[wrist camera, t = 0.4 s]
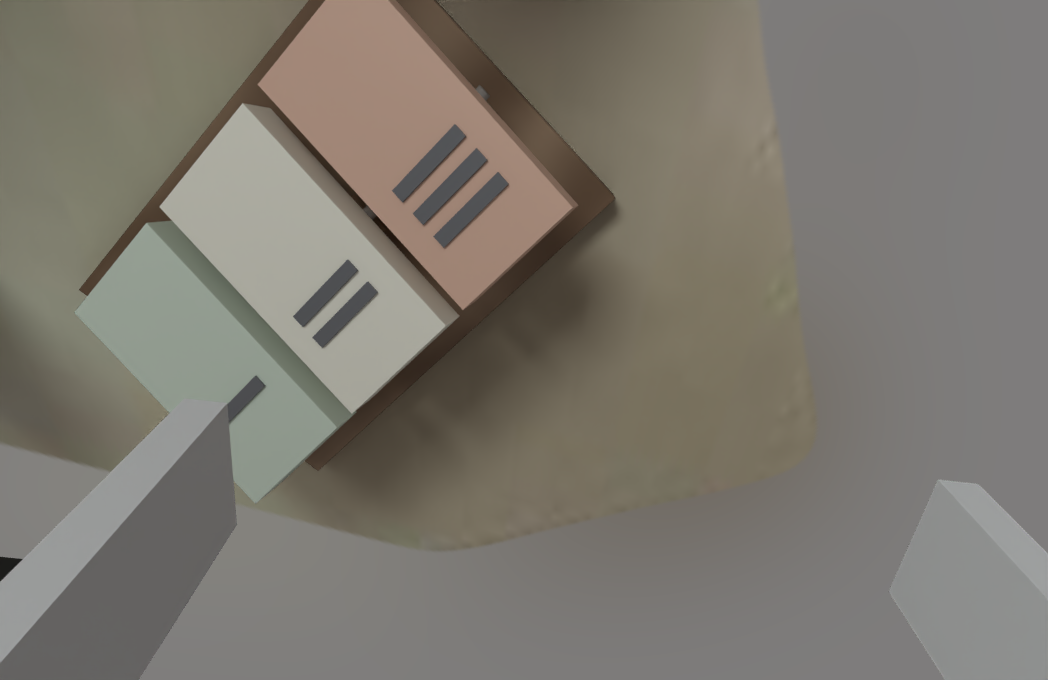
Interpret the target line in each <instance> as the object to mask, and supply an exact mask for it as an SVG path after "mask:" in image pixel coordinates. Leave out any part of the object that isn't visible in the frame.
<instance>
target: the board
mask: <svg viewBox="0 0 1048 680" xmlns="http://www.w3.org/2000/svg"><path fill="white" fill-rule="evenodd" d="M324 1H325V0H309V1H308V2H307V4H306V5H305V6H304V7H303V9H302V10H301V11H300V12H299V14H298V15H297V16H296V17H295V19H294V20H293V21H292V22H291V24H290V25H289V26H288V27H287V29H286V30H285V31H284V32H283V34H282V35H281V36H280V38H279V39H278V40H277V41H276V43H275V44H274V45H273V46H272V48H271V49H270V50H269V51H268V53H267V54H266V55H265V56H264V58H263V59H262V60H261V61H260V63H259V64H258V65H257V66H256V68H255V69H254V70H253V71H252V73H251V74H250V75H249V77H248V78H247V79H246V80H245V82H244V83H243V84H242V85H241V87H240V88H239V89H238V90H237V92H236V93H235V94H234V95H233V97H232V98H231V99H230V100H229V102H228V103H227V104H226V105H225V107H224V108H223V109H222V110H221V112H220V113H219V114H218V116H217V117H216V118H215V119H214V121H213V122H212V123H211V124H210V126H209V127H208V128H207V129H206V131H205V132H204V133H203V134H202V136H201V137H200V138H199V139H198V141H197V142H196V143H195V144H194V146H193V147H192V148H191V150H190V151H189V152H188V153H187V155H186V156H185V157H184V158H183V160H182V161H181V162H180V163H179V165H178V166H177V167H176V168H175V170H174V171H173V172H172V173H171V175H170V176H169V177H168V178H167V180H166V181H165V182H164V183H163V185H162V186H161V187H160V189H159V190H158V191H157V192H156V194H155V195H154V196H153V197H152V199H151V200H150V201H149V202H148V204H147V205H146V206H145V207H144V209H143V210H142V211H141V212H140V214H139V215H138V216H137V217H136V219H135V220H134V221H133V222H132V224H131V225H130V226H129V228H128V229H127V230H126V231H125V233H124V234H123V235H122V236H121V238H120V239H119V240H118V241H117V243H116V244H115V245H114V246H113V248H112V249H111V250H110V251H109V253H108V254H107V255H106V256H105V258H104V259H103V260H102V262H101V263H100V264H99V265H98V267H97V268H96V269H95V270H94V272H93V273H92V274H91V275H90V277H89V278H88V279H87V280H86V282H85V283H84V284H83V285H82V287H81V288H80V289H79V290H80V291H81V292H83V293H84V294H85V295H87V296H88V295H89V294H90V292H91V291H92V290H93V289H94V287H95V286H96V285H97V284H98V282H99V281H100V280H101V279H102V277H103V276H104V275H105V274H106V272H107V271H108V270H109V269H110V268H111V266H112V265H113V264H114V263H115V261H116V260H117V259H118V258H119V256H120V255H121V254H122V253H123V251H124V250H125V249H126V248H127V246H128V245H129V244H130V243H131V241H132V240H133V239H134V238H135V236H136V235H137V234H138V233H139V231H140V230H141V229H142V228H143V226H144V225H145V224H146V223H151V222H162V221H172V220H171V219H170V218H169V217H168V216H167V215H166V214H165V213H164V211H163V210H162V209H161V208H160V205H161V204H162V203H163V202H164V200H165V199H166V198H167V197H168V195H169V194H170V193H171V192H172V190H173V189H174V188H175V187H176V185H177V184H178V183H179V182H180V180H181V179H182V178H183V177H184V175H185V174H186V173H187V172H188V170H189V169H190V168H191V167H192V166H193V164H194V163H195V162H196V161H197V159H198V158H199V157H200V156H201V154H202V153H203V152H204V151H205V149H206V148H207V147H208V146H209V144H210V143H211V142H212V141H213V139H214V138H215V137H216V136H217V134H218V133H219V132H220V131H221V129H222V128H223V127H224V126H225V124H226V123H227V122H228V121H229V119H230V118H231V117H232V116H233V115H234V113H235V112H236V111H237V110H238V108H239V107H240V106H241V105H242V103H244V104H250V105H256V106H261V107H267V108H271V109H272V111H273V112H274V113H275V114H276V115H277V116H278V117H279V118H280V119H281V120H282V122H283V123H284V124H285V125H286V126H287V127H288V128H289V129H290V130H291V131H292V133H293V134H294V135H295V136H296V137H297V138H298V139H299V140H300V141H301V142H302V144H303V145H304V146H305V147H306V148H307V149H308V150H309V151H310V152H311V153H312V154H313V156H314V157H315V158H316V159H317V160H318V161H319V162H320V163H321V164H322V165H323V167H324V168H325V169H326V170H327V171H328V172H329V173H330V174H331V175H332V176H333V178H334V179H335V180H336V181H337V182H338V183H339V184H340V185H341V186H342V187H343V189H344V190H345V191H346V192H347V193H348V194H349V195H350V196H351V197H352V198H353V199H354V201H355V202H356V203H357V204H358V205H359V206H360V207H361V208H362V209H363V210H364V212H365V213H366V214H367V215H368V216H369V217H370V218H371V219H372V220H373V221H374V223H375V224H376V225H377V226H378V227H379V228H380V229H381V230H382V231H383V232H384V234H385V235H386V236H387V237H388V238H389V239H390V240H391V241H392V242H393V243H394V244H395V246H396V247H397V248H398V249H399V250H400V251H401V252H402V253H403V254H404V255H405V257H406V258H407V259H408V260H409V261H410V262H411V263H412V264H413V265H414V266H415V268H416V269H417V270H418V271H419V272H420V273H421V274H422V275H423V276H424V277H425V279H426V280H427V281H428V282H429V283H430V284H431V285H432V286H433V287H434V288H435V289H436V291H437V292H438V293H439V294H440V295H441V296H442V297H443V298H444V299H445V300H446V302H447V303H448V304H449V305H450V306H451V307H452V308H453V309H454V310H455V311H456V313H457V314H458V315H459V317H458V318H457V319H456V320H455V321H454V322H453V323H452V324H451V325H450V326H449V327H447V328H446V329H445V330H444V331H443V332H442V333H441V334H440V335H439V336H438V337H437V338H436V339H435V340H433V341H432V342H431V343H430V344H429V345H428V346H427V347H426V348H425V349H424V350H423V351H422V352H421V353H420V354H418V355H417V356H416V357H415V358H414V359H413V360H412V361H411V362H410V363H409V364H408V365H407V366H406V367H405V368H403V369H402V370H401V371H400V372H399V373H398V374H397V375H396V376H395V377H394V378H393V379H392V380H391V381H390V382H388V383H387V384H386V385H385V386H384V387H383V388H382V389H381V390H380V391H379V392H378V393H377V394H376V395H375V396H373V397H372V398H371V399H370V400H369V401H368V402H366V403H365V404H364V405H362V406H361V407H360V408H359V409H357V410H356V413H355V414H354V415H353V416H352V417H351V418H350V419H349V420H348V421H347V422H346V423H344V424H343V425H342V426H341V427H340V428H339V429H338V430H337V431H336V432H335V433H334V434H333V435H332V436H331V437H329V438H328V439H327V440H326V441H325V442H324V443H323V444H322V445H321V446H320V447H319V448H318V449H317V450H316V451H314V452H313V453H312V454H311V455H310V456H309V457H308V458H307V459H306V460H305V461H306V462H307V463H308V464H310V465H311V466H312V467H313V468H315V469H316V470H317V471H318V470H319V469H321V468H322V467H323V466H324V465H325V464H326V463H327V462H328V461H329V460H330V459H331V458H333V457H334V456H335V455H336V454H337V453H338V452H339V451H340V450H341V449H342V448H343V447H345V446H346V445H347V444H348V443H349V442H350V441H351V440H352V439H353V438H354V437H355V436H357V435H358V434H359V433H360V432H361V431H362V430H363V429H364V428H365V427H366V426H367V425H369V424H370V423H371V422H372V421H373V420H374V419H375V418H376V417H377V416H378V415H379V414H381V413H382V412H383V411H384V410H385V409H386V408H387V407H388V406H389V405H390V404H391V403H393V402H394V401H395V400H396V399H397V398H398V397H399V396H400V395H401V394H402V393H403V392H405V391H406V390H407V389H408V388H409V387H410V386H411V385H412V384H413V383H414V382H415V381H417V380H418V379H419V378H420V377H421V376H422V375H423V374H424V373H425V372H426V371H427V370H429V369H430V368H431V367H432V366H433V365H434V364H435V363H436V362H437V361H438V360H439V359H441V358H442V357H443V356H444V355H445V354H446V353H447V352H448V351H449V350H450V349H451V348H453V347H454V346H455V345H456V344H457V343H458V342H459V341H460V340H461V339H462V338H463V337H465V336H466V335H467V334H468V333H469V332H470V331H471V330H472V329H473V328H474V327H476V326H477V325H478V324H479V323H480V322H481V321H482V320H483V319H484V318H485V317H486V316H488V315H489V314H490V313H491V312H492V311H493V310H494V309H495V308H496V307H497V306H498V305H500V304H501V303H502V302H503V301H504V300H505V299H506V298H507V297H508V296H509V295H510V294H512V293H513V292H514V291H515V290H516V289H517V288H518V287H519V286H520V285H521V284H522V283H524V282H525V281H526V280H527V279H528V278H529V277H530V276H531V275H532V274H533V273H534V272H536V271H537V270H538V269H539V268H540V267H541V266H542V265H543V264H544V263H545V262H546V261H548V260H549V259H550V258H551V257H552V256H553V255H554V254H555V253H556V252H557V251H558V250H560V249H561V248H562V247H563V246H564V245H565V244H566V243H567V242H568V241H569V240H570V239H572V238H573V237H574V236H575V235H576V234H577V233H578V232H579V231H580V230H581V229H582V228H584V227H585V226H586V225H587V224H588V223H589V222H590V221H591V220H592V219H593V218H594V217H596V216H597V215H598V214H599V213H600V212H601V211H602V210H603V209H604V208H605V207H606V206H608V205H609V204H610V203H611V202H612V201H613V200H614V199H615V197H614V195H613V193H612V192H611V191H610V190H609V189H608V188H607V187H606V186H605V185H604V183H603V182H602V181H601V180H600V179H599V178H598V177H597V176H596V175H595V174H594V173H593V171H592V170H591V169H590V168H589V167H588V166H587V165H586V164H585V163H584V162H583V161H582V159H581V158H580V157H579V156H578V155H577V154H576V153H575V152H574V151H573V150H572V149H571V147H570V146H569V145H568V144H567V143H566V142H565V141H564V140H563V139H562V138H561V137H560V135H559V134H558V133H557V132H556V131H555V130H554V129H553V128H552V127H551V126H550V125H549V123H548V122H547V121H546V120H545V119H544V118H543V117H542V116H541V115H540V114H539V112H538V111H537V110H536V109H535V108H534V107H533V106H532V105H531V104H530V103H529V102H528V100H527V99H526V98H525V97H524V96H523V95H522V94H521V93H520V92H519V91H518V90H517V88H516V87H515V86H514V85H513V84H512V83H511V82H510V81H509V80H508V79H507V78H506V76H505V75H504V74H503V73H502V72H501V71H500V70H499V69H498V68H497V67H496V66H495V64H494V63H493V62H492V61H491V60H490V59H489V58H488V57H487V56H486V55H485V54H484V52H483V51H482V50H481V49H480V48H479V47H478V46H477V45H476V44H475V43H474V41H473V40H472V39H471V38H470V37H469V36H468V35H467V34H466V33H465V32H464V31H463V29H462V28H461V27H460V26H459V25H458V24H457V23H456V22H455V21H454V20H453V19H452V17H451V16H450V15H449V14H448V13H447V12H446V11H445V10H444V9H443V8H442V7H441V5H440V4H439V3H438V2H437V1H436V0H396V1H397V2H398V3H399V4H400V5H401V6H402V7H403V9H404V10H405V11H406V12H407V13H408V14H409V15H410V16H411V18H412V19H413V20H414V21H415V22H416V23H417V24H418V25H419V27H420V28H421V29H422V30H423V31H424V32H425V33H426V34H427V36H428V37H429V38H430V39H431V40H432V41H433V42H434V43H435V45H436V46H437V47H438V48H439V49H440V50H441V51H442V52H443V54H444V55H445V56H446V57H447V58H448V59H449V60H450V61H451V63H452V64H453V65H454V66H455V67H456V68H457V69H458V70H459V72H460V73H461V74H462V75H463V76H464V77H465V78H466V79H467V80H468V82H469V83H470V84H471V85H472V86H473V87H474V88H475V89H476V91H477V92H478V93H479V94H480V95H481V96H482V97H483V98H484V100H485V101H486V102H487V103H488V104H489V105H490V106H491V107H492V109H493V110H494V111H495V112H496V113H497V114H498V115H499V116H500V118H501V119H502V120H503V121H504V122H505V123H506V124H507V125H508V127H509V128H510V129H511V130H512V131H513V132H514V133H515V134H516V136H517V137H518V138H519V139H520V140H521V141H522V142H523V143H524V145H525V146H526V147H527V148H528V149H529V150H530V151H531V152H532V154H533V155H534V156H535V157H536V158H537V159H538V160H539V161H540V163H541V164H542V165H543V166H544V167H545V168H546V169H547V170H548V171H549V173H550V174H551V175H552V176H553V177H554V178H555V179H556V180H557V182H558V183H559V184H560V185H561V186H562V187H563V188H564V189H565V191H566V192H567V193H568V194H569V195H570V196H571V197H572V198H573V200H574V201H575V202H576V203H577V204H578V206H577V207H576V208H575V209H574V210H573V211H572V212H571V213H570V214H569V215H568V216H566V217H565V218H564V219H563V220H562V221H561V222H560V223H559V224H558V225H557V226H556V227H555V228H554V229H553V230H551V231H550V232H549V233H548V234H547V235H546V236H545V237H544V238H543V239H542V240H541V241H540V242H539V243H538V244H536V245H535V246H534V247H533V248H532V249H531V250H530V251H529V252H528V253H527V254H526V255H525V256H524V257H523V258H521V259H520V260H519V261H518V262H517V263H516V264H515V265H514V266H513V267H512V268H511V269H510V270H509V271H508V272H506V273H505V274H504V275H503V276H502V277H501V278H500V279H499V280H498V281H497V282H496V283H495V284H494V285H492V286H491V287H490V288H489V289H488V290H487V291H486V292H485V293H484V294H483V295H482V296H481V297H480V298H479V299H477V300H476V301H475V302H474V303H472V304H471V305H469V306H468V307H466V308H465V309H464V310H462V309H461V307H460V306H459V305H458V304H457V303H456V302H455V301H454V300H453V299H452V298H451V296H450V295H449V294H448V293H447V292H446V291H445V290H444V289H443V288H442V287H441V285H440V284H439V283H438V282H437V281H436V280H435V279H434V278H433V277H432V276H431V274H430V273H429V272H428V271H427V270H426V269H425V268H424V267H423V266H422V265H421V263H420V262H419V261H418V260H417V259H416V258H415V257H414V256H413V255H412V254H411V253H410V251H409V250H408V249H407V248H406V247H405V246H404V245H403V244H402V243H401V242H400V240H399V239H398V238H397V237H396V236H395V235H394V234H393V233H392V232H391V231H390V229H389V228H388V227H387V226H386V225H385V224H384V223H383V222H382V221H381V220H380V218H379V217H378V216H377V215H376V214H375V213H374V212H373V211H372V210H371V209H370V207H369V206H368V205H367V204H366V203H365V202H364V201H363V200H362V199H361V198H360V196H359V195H358V194H357V193H356V192H355V191H354V190H353V189H352V188H351V187H350V185H349V184H348V183H347V182H346V181H345V180H344V179H343V178H342V177H341V176H340V174H339V173H338V172H337V171H336V170H335V169H334V168H333V167H332V166H331V165H330V164H329V162H328V161H327V160H326V159H325V158H324V157H323V156H322V155H321V154H320V153H319V151H318V150H317V149H316V148H315V147H314V146H313V145H312V144H311V143H310V142H309V140H308V139H307V138H306V137H305V136H304V135H303V134H302V133H301V132H300V131H299V129H298V128H297V127H296V126H295V125H294V124H293V123H292V122H291V121H290V120H289V118H288V117H287V116H286V115H285V114H284V113H283V112H282V111H281V110H280V109H279V107H278V106H277V105H276V104H275V103H274V102H273V101H272V100H271V99H270V98H269V96H268V95H267V94H266V93H265V92H264V91H263V90H262V89H261V88H260V87H259V86H258V83H259V82H260V81H261V80H262V78H263V77H264V76H265V75H266V73H267V72H268V71H269V70H270V68H271V67H272V66H273V65H274V63H275V62H276V61H277V60H278V59H279V57H280V56H281V55H282V54H283V52H284V51H285V50H286V49H287V47H288V46H289V45H290V44H291V42H292V41H293V40H294V39H295V37H296V36H297V35H298V34H299V32H300V31H301V30H302V29H303V27H304V26H305V25H306V24H307V22H308V21H309V20H310V19H311V17H312V16H313V15H314V14H315V12H316V11H317V10H318V9H319V8H320V6H321V5H322V4H323V3H324Z"/></svg>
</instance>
